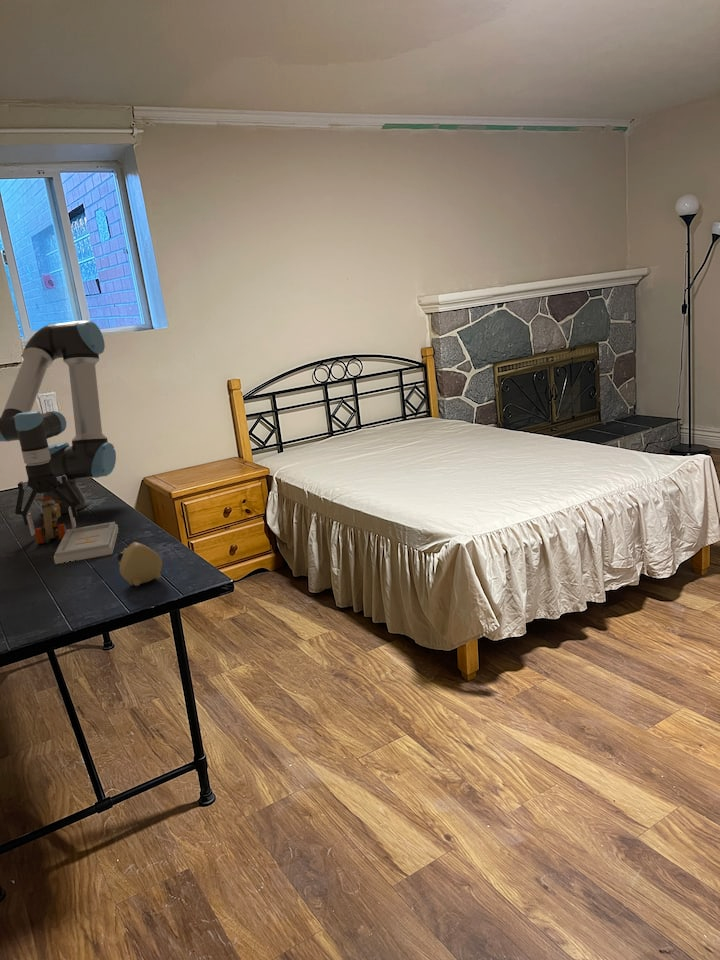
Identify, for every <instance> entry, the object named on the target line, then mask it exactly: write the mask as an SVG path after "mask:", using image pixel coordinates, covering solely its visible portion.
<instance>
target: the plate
mask: <svg viewBox="0 0 720 960" xmlns="http://www.w3.org/2000/svg"><path fill="white" fill-rule="evenodd" d="M66 530H67V531H66V533H65V535H64V537H63V539H62V540H60V542H59V544H58V546H57V548H56V550H55V552H54V556H53V562H54V564H55V565H58V564H59V563H60V564H65V563H70V562H69V561H71V562H76V561H81V560H86V559H92V558H97V557H98V558H99V557H105V556H108V555H112V554H114V553H113V552H114V548H115V545H116V542H117V539H118V538H117V537H118V535H117V534H119V531H118V530H119V527H118V524H116V521H110V522H105V523H104V522H103V523H99V524H92V525H88V526H87V525H86V526H80V527H76V528H69V529H66ZM75 560H76V561H75ZM64 562H65V563H64Z"/></svg>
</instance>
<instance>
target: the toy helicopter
mask: <svg viewBox="0 0 720 960" xmlns="http://www.w3.org/2000/svg"><path fill="white" fill-rule="evenodd" d="M34 501H38V502H39V501H40V502H41V501H43V502H42V505H43V506H47V507H44V510H43V514H42V515H43V516H42V521H43V525H42V527H36V528H35V534H34V535H35V539H36V542H37V544H38V545H43V544H45V543H46V540H51V539H56V538H57V537H58V539H59V540H60V541H62V539H63V537H64V535H65V533H66V531H67V530H68V529H67V526H66V525H65V523H61V524H60V523H58V519H59V518H61V516H62V514H61V510H60V506H59V504H58V503H61V502H62V501H58V500H53V499H52V497H50V496H47V497H45V498H42V497H41V498H36V499H35V498H34Z"/></svg>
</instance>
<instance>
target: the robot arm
mask: <svg viewBox="0 0 720 960" xmlns="http://www.w3.org/2000/svg"><path fill="white" fill-rule="evenodd" d="M105 347H106V346H105V340H104V336H103V334H102V331H101V329H100V328H99V326H98V325H97V324H96V323H95V322H94V321H91V320H76V321H68V322H59V323H51V324H47V325H45V326H43V327H41V328H40V329H39V330H37V331H36V332H35V333H34V334H33V335H32V336H31V337H30V339H29V340H28V341H27V343H26V345H25V346H24V349H23V351H22V355H21V356H22V359H23V360H22V362H21V365H20V368H19V370H18V373H17V375H16V377H15V378H16V379H15V381H14V383H13V386H12V389H11V390H10V394H9V395H8V399H7V401H6V404H5V406H4V409H3V411H2V414H1V415H0V442H12V441H19V445H20V448H21V449H20V450H21V455H22V459H23V461H24V462H23V463H24V464H25V471H26V472H25V473H26V475H27V481H22V480H21V481H19V482H18V483H17V488H18V494H17V498H16V505H15V512H14V514H15V515H17V516H18V515H20V516H22V518H23V523H24V525H25V526H28V528H29V532H30V536H32V537H33V536H34V535H35V530H36V528H35V525H34V521H33V516H32V513H31V512H29V510H30V508H31V506H32V504H33V502H34V501H35V498H36V495H37V494H39V495H40V494H41V498H45V497H47V496H50V497H52V499H53V500H58V501H62V502H61V503H58V504H59V506H60V510H61V515H62V514H69V517H70V518H69V519H70V523H71V529H74V528H77V521H76V518H77V517H78V510H82V509H83V508H85V507H86V506H87V505H88V502H87V498H86V496H85V495H84V492H82V491H81V489H80V487H79V485H78V482H77V480H83V479H93V478H94V479H96V478H97V479H99V478H103V477H107V476H109V475H111V474H112V473H113V471H114V469H115V467H116V460H117V452H116V449H115V446H114V444H113V443H111V442H110V441H109V442H108V437H106V435H105V434H104V433H103V429H102V428H103V427H102V419H101V409H100V399H99V398H100V397H99V390H98V380H97V379H98V378H97V372H96V371H97V370H96V365H97V363H98V362H100V356H99V355H101V354H103V353H104V351H105ZM60 358H61V359H62V360H63V362H64V363H65V364H66V365H67V367H68V373H69V383H70V393H71V401H72V410H73V420H74V421H73V422H74V431H75V436H74V437H73V438H72V440H71V445H70V444H69V442H68V441H63V442H59V443H55V444H51V445H49V444H48V439H50V438H53V437H56V436H57V437H58V435H60V434H62V433H63V432H64V431H65V430H66V428H67V420H66V417H65V416H64V415H63V413H61V412H59V411H55V410H51V411H47V412H44V413H41V412H40V411H39V410H32V409H33V407H34V404H35V401H36V398H37V395H38V393H39V390H40V388H41V385H42V382H43V380H44V377H45V374H46V372H47V369H48V368H50V367H51V366H52V364H53V362H54V361H55V360H57V359H60ZM27 486H28V487H29V488H31V490H32V491H31V492H30V493H31V494H30V495H29V497H28V500H27V502H26V503H25V506H24V508H23V507H22V506H23V504H24V503H23V501H24V496H25V491H26V489H27ZM42 502H43V501H40V511H41V514H42V515H43V510H44V507H47V506H43V505H42ZM22 508H23V509H22Z"/></svg>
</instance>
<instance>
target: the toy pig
mask: <svg viewBox="0 0 720 960" xmlns="http://www.w3.org/2000/svg"><path fill="white" fill-rule="evenodd" d="M116 559H117V560H118V564H119V573H120V575H121V576H122V578H123V579H124V580H125V581H127V582H128V583H129V586H136V587H139V586H140V585H141V584H142V585H143V584H146V583H149V582H151V581H153V580H154V579H157V580H158V579H160V578H161V577H162V574H161V571H162V568H163V559H162V557H161V555H159V554H158V553H157V552H156V551H155V550H153V549H152V548H150V547H148V546H147V545H145V544H143V543H140V542H137V541H133V542H132V543H130V544H129V545H128V547H125V548H123V551H121V552H119V553H118V554H117V558H116Z"/></svg>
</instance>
